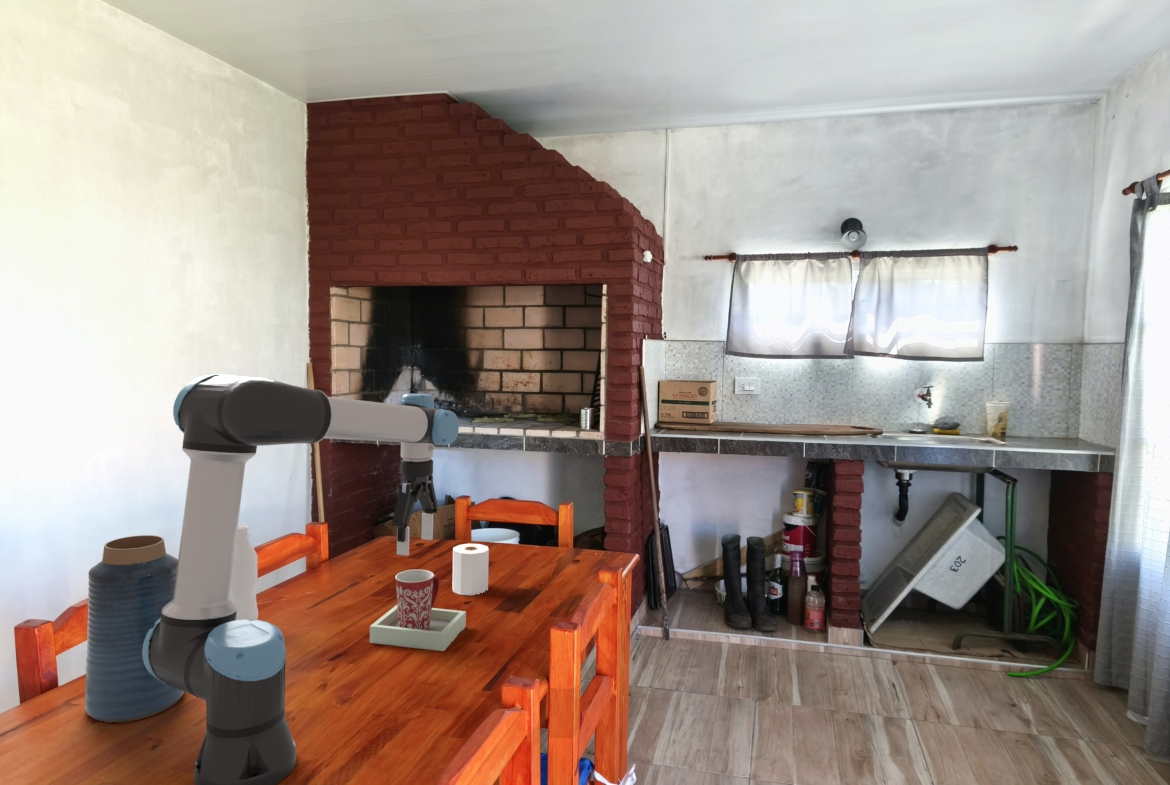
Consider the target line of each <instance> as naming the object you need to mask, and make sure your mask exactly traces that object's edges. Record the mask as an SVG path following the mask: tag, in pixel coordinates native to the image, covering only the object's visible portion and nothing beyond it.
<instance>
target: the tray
mask: <svg viewBox="0 0 1170 785" xmlns="http://www.w3.org/2000/svg"><path fill="white" fill-rule="evenodd" d="M466 621H467V611H466V610H465V611H463V610H457V609H445V608H436V607H432V609H431V615H430V628H429V630H421V629H411V628H402V627H399V626H398V608H397V604H396V605H394V606H393V607H392V608H391V609H390V610H388V611H387V612H386V613H384V614H383V615H382V616H380V617H379V618H377V620H376V621H375V622H373V623H372V624H370V626H369V644H378V645H385V646H386V645H387V646H395V647H403V648H411V649H413V648H414V649H419V650H421V649H422V650H423V649H424V650H429V651H439V652H444V651H446V649H447V648H448V647H449V646H450V645H451V644H452V643H453V642H454V641H455V639H456V638H457V637H458V636H459V635H460V634H461V633H462V632H463V631H464V629H465V628H466V627H467V625H466V624H467V623H466ZM465 626H466V627H465ZM461 631H462V632H461ZM460 632H461V633H460ZM459 633H460V634H459ZM458 634H459V635H458ZM457 635H458V636H457ZM451 642H452V643H451Z"/></svg>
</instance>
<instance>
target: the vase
mask: <svg viewBox="0 0 1170 785" xmlns="http://www.w3.org/2000/svg"><path fill="white" fill-rule="evenodd" d="M165 544H166V543H165V539H164V538H163V537H162V536H159V535H151V534H149V535H148V534H145V535H132V536H124V537H121V538H116V539H113V540H109V541H108V542H106V543H104V545H103V551H102V559H101V561H99V562H98V563H97V564H95V565H94V566H92V567H91V568H90V569H89V570H88V573H87V574H88V588H87V589H88V595H87V596H88V600H87V602H88V604H87V608H88V609H87V615H88V616H87V634H86V635H87V636H86V637H87V639H86V641H87V645H86V649H87V650H86V659H85V660H86V661H85V662H86V664H85V665H86V666H85V670H86V671H85V672H86V674H85V698H84V699H85V700H84V701H85V702H84V703H85V704H84V709H85V712H86V713H87V715H88V716H90V717H91V718H93V719H94V720H96V721H99V720H100V721H99V722H102V721H104V723H112V722H116V723H126V722H127V721H128V722H132V721H133V720H134V721H139V720H141V719H146V718H149V717H152V716H155V715H157V714H160V713H161V712H164V711H166V710H168V709H169V708H171V707H172V706H174V705H175V704H177V702H178V701H179V700H180V699H181V697H183V695H185V694H184V693H185V692H184V691H182V690H179V689H177V688H173V687H170V686H167V685H165V684H163V683H162V682H161V681H159V680H158V679H157V678H155V677H153V676H152V675H151V674H150V673H149V672H148V670H147V669H146V667H145V665H144V662H143V656H142V649H143V643H144V640H145V637H146V635H147V633H148V631H149V630H150V629H152V628H153V627H154V626H155V622H156V621H157V620H158V619H160V618H161V611H162V608H163V607H164V606H165V605H167V604H168V603H169V602H170V601H172V599H173V597H174V589H175V581H176V573H177V565H178V558H177V557H175V556H173V555H171V554H169V553H167V550H166V545H165ZM145 717H146V718H145ZM134 721H133V722H134Z"/></svg>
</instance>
